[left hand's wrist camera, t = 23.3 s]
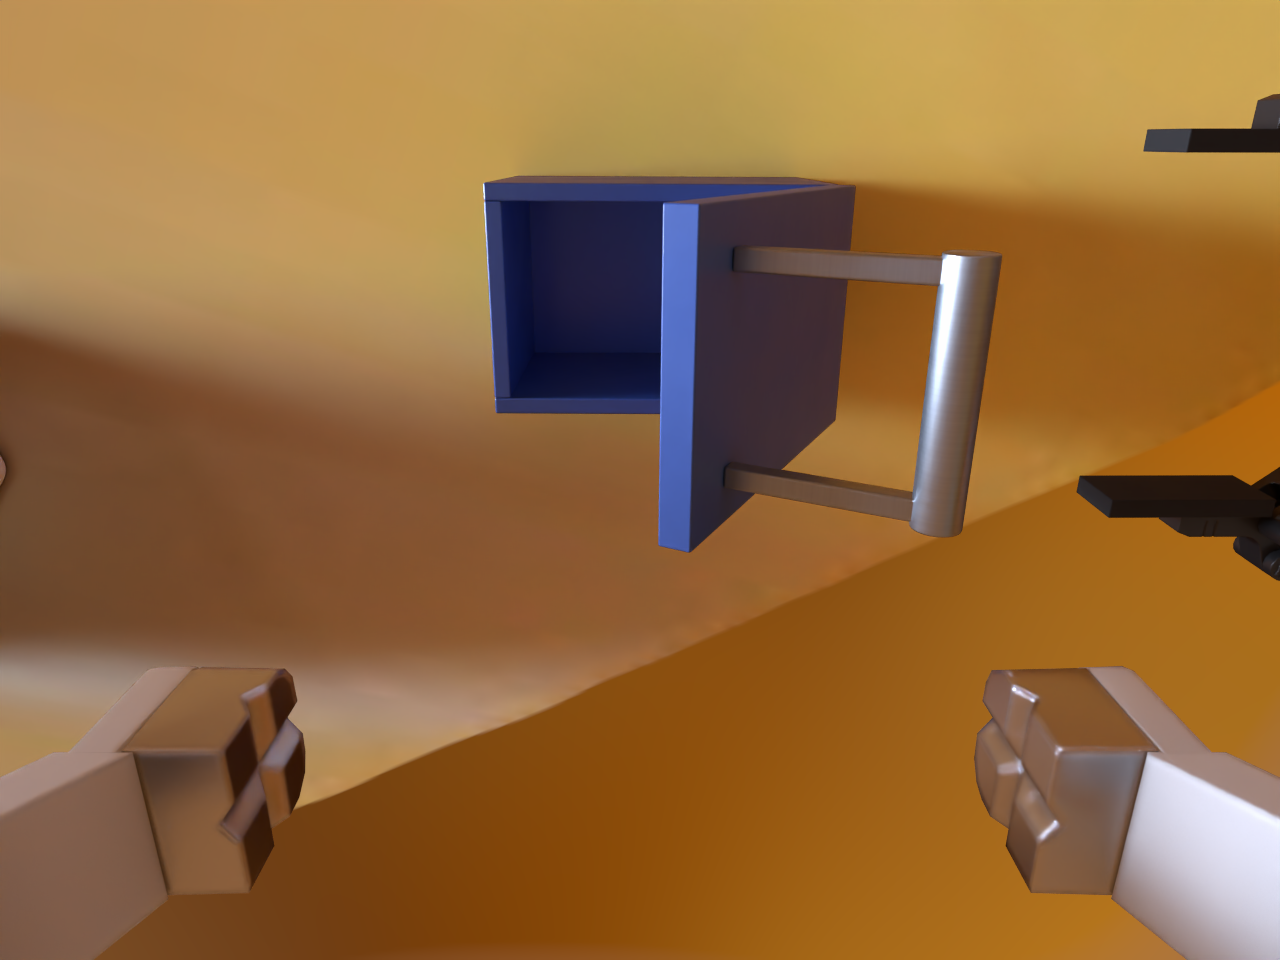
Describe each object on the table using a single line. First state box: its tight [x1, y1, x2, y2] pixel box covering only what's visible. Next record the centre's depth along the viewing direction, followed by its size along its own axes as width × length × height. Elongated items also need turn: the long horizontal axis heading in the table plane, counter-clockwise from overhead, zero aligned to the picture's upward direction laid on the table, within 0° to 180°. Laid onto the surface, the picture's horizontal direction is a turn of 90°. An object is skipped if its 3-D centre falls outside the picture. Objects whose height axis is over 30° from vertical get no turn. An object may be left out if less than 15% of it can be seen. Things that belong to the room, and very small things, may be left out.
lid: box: [658, 185, 1002, 552], centre depth 29 cm, size 15×10×8 cm
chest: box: [483, 176, 837, 414], centre depth 42 cm, size 15×10×10 cm
